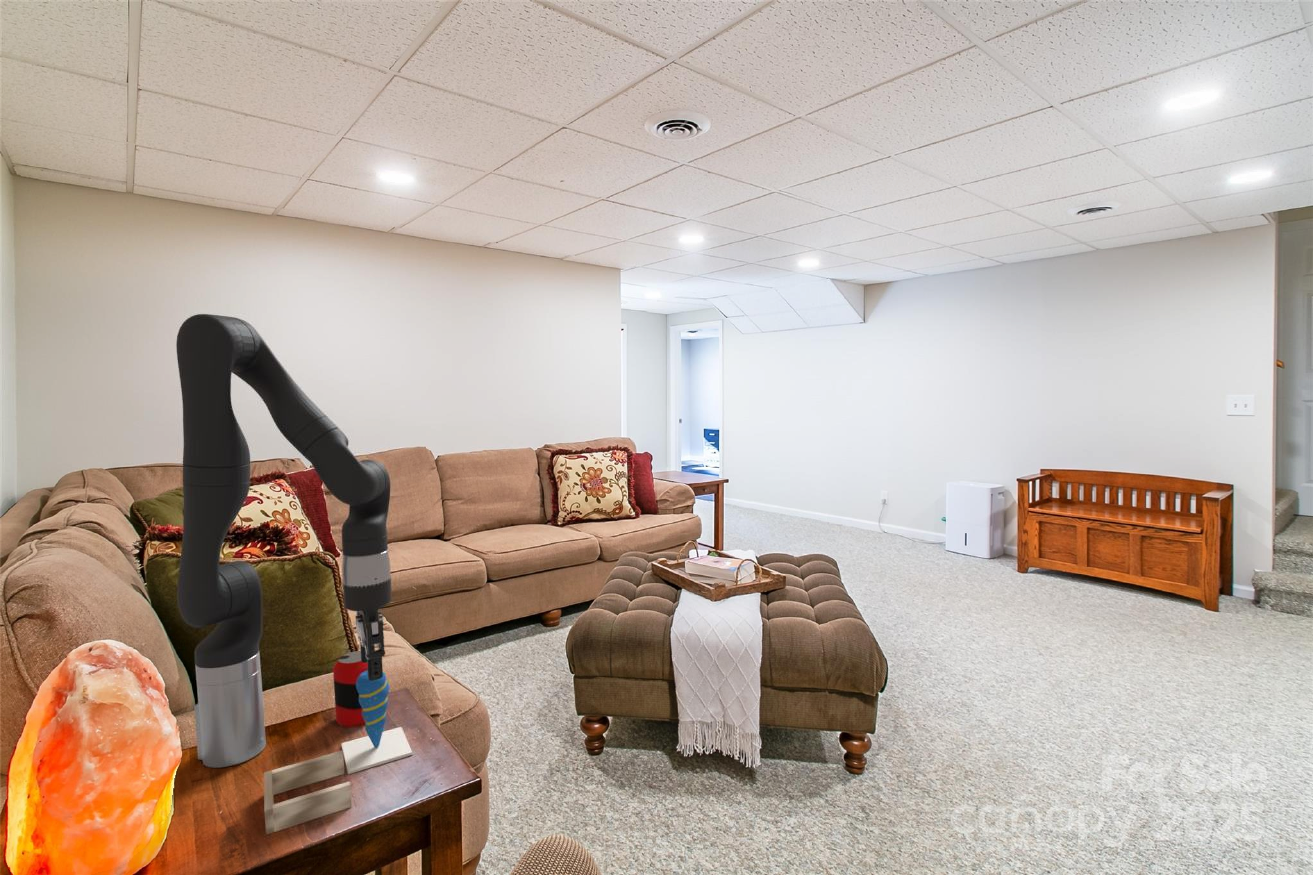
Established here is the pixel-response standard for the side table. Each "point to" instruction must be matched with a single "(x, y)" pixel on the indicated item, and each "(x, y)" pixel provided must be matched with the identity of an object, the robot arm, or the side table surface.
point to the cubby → (310, 803)
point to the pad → (375, 750)
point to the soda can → (348, 689)
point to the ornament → (373, 704)
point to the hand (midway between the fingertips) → (371, 669)
